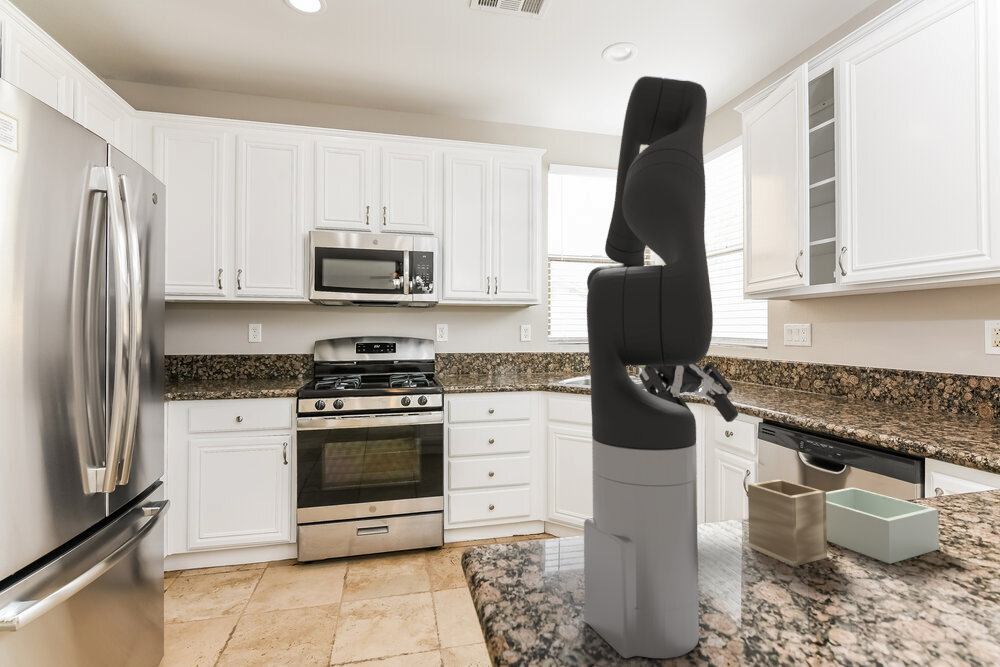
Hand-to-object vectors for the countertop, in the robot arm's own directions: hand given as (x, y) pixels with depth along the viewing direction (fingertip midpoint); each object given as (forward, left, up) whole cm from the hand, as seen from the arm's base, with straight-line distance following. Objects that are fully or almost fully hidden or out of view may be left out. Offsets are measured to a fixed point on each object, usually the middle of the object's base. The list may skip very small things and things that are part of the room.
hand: (712, 420), depth 71 cm
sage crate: (+13, -14, -15) cm, 24 cm away
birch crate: (0, -12, -15) cm, 19 cm away
